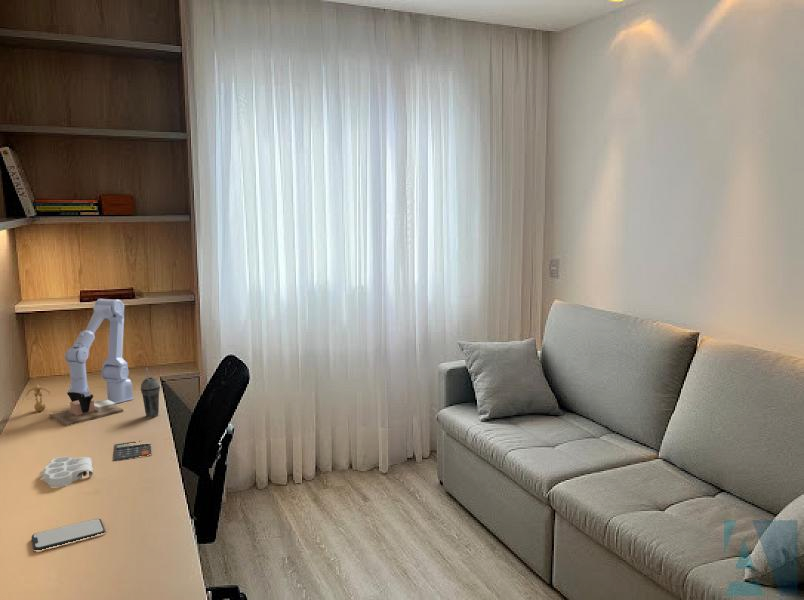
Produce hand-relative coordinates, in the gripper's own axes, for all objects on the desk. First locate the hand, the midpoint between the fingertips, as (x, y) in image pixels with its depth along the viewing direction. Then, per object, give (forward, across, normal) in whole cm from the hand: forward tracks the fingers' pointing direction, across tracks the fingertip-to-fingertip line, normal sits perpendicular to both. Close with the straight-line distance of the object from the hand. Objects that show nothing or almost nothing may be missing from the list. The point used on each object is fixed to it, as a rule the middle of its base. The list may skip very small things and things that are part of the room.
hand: (81, 410), depth 252 cm
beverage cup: (+2, +22, +18) cm, 29 cm away
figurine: (+2, -18, -9) cm, 20 cm away
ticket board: (+2, 0, +2) cm, 3 cm away
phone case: (+3, +93, -42) cm, 102 cm away
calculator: (+3, +50, -4) cm, 51 cm away
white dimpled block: (+3, +54, -27) cm, 60 cm away
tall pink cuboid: (+1, 0, 0) cm, 1 cm away
